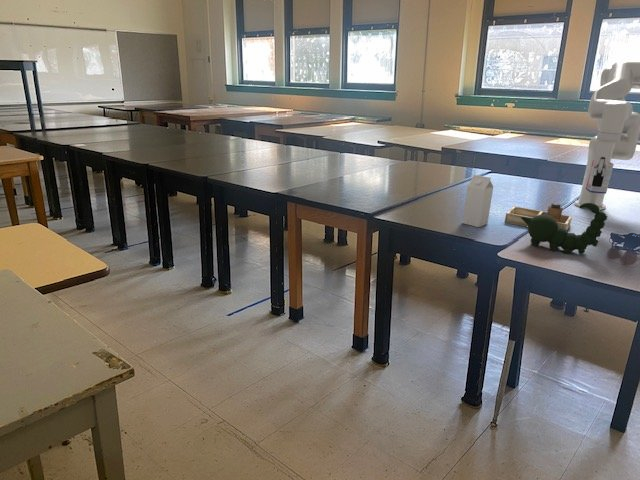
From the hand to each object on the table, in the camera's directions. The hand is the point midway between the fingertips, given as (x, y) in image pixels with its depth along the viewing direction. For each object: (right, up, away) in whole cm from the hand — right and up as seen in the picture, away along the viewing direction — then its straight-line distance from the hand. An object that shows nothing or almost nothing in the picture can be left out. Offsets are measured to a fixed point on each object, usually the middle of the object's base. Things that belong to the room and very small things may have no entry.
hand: (597, 183), depth 183 cm
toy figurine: (-25, -25, -18) cm, 39 cm away
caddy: (-19, -15, +8) cm, 26 cm away
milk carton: (-45, -15, +6) cm, 48 cm away
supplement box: (0, -3, +1) cm, 3 cm away
